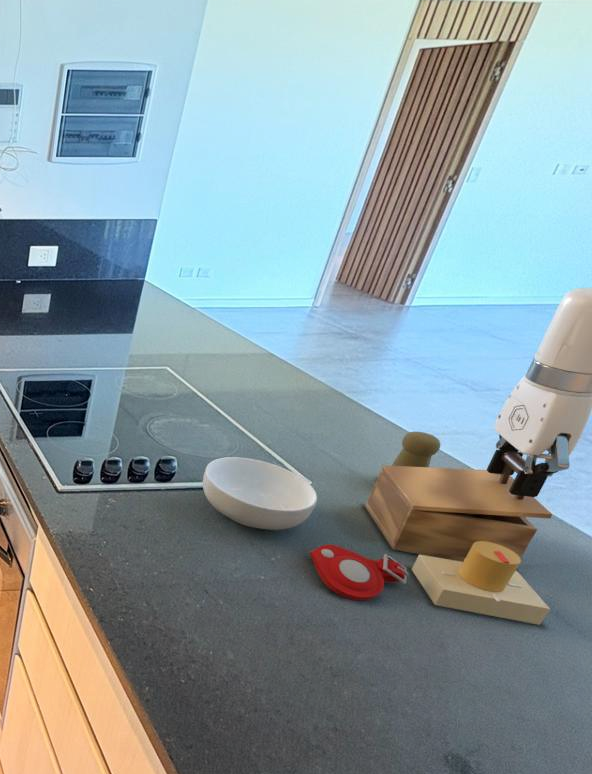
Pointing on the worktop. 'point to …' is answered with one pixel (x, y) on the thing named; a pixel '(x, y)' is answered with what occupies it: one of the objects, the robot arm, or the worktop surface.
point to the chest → (441, 526)
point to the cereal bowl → (258, 493)
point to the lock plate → (478, 592)
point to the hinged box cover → (465, 489)
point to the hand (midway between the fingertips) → (510, 482)
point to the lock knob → (489, 566)
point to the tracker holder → (355, 572)
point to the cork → (417, 450)
